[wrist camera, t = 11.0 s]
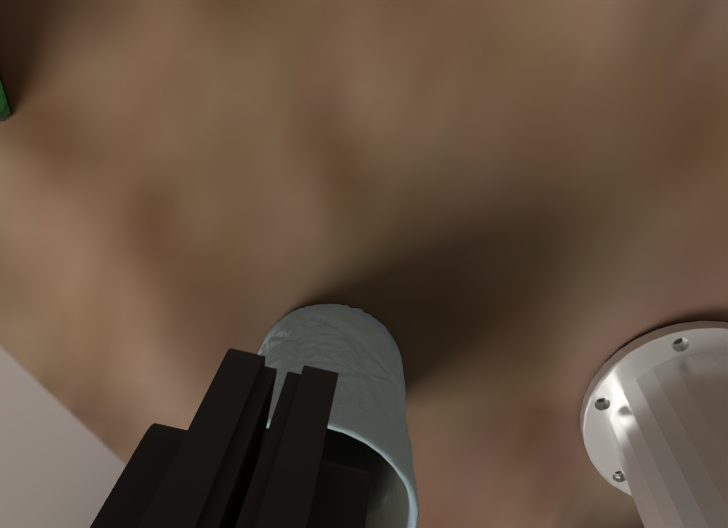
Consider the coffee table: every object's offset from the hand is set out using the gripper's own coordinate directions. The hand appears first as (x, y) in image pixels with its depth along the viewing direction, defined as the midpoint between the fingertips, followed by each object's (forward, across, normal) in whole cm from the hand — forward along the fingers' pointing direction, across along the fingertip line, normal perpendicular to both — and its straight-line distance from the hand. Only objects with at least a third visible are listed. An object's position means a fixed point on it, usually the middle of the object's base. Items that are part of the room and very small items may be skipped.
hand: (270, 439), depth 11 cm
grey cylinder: (+27, -1, +16) cm, 32 cm away
